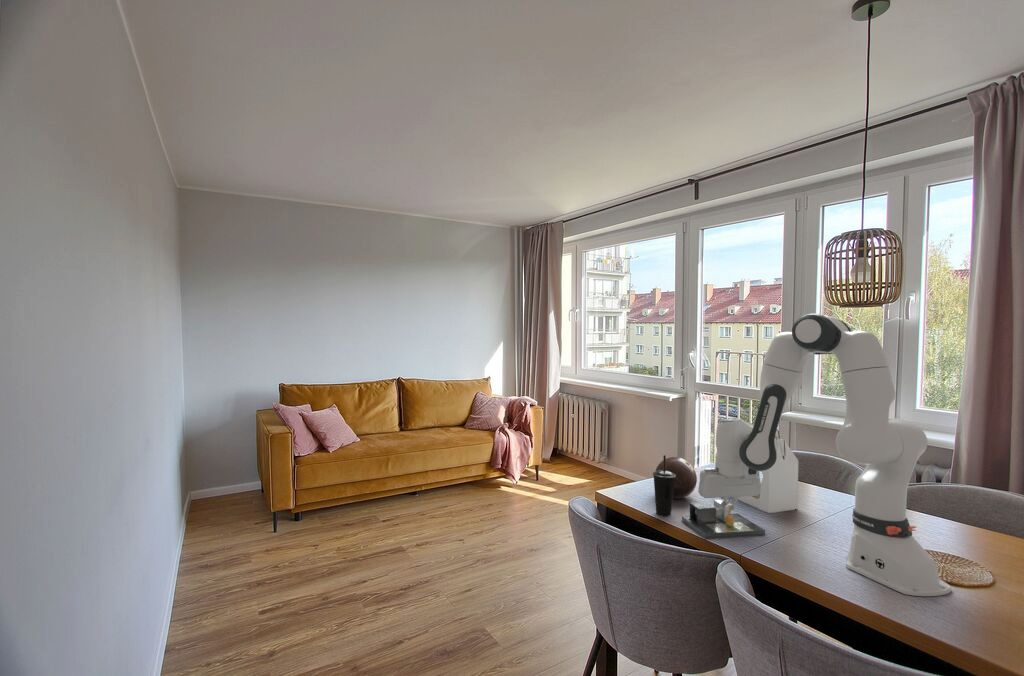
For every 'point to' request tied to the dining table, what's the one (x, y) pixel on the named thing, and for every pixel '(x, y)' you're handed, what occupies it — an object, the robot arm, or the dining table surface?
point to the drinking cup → (664, 490)
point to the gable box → (778, 482)
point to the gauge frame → (718, 523)
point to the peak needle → (729, 518)
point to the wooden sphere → (680, 476)
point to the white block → (720, 510)
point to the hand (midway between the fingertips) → (729, 509)
